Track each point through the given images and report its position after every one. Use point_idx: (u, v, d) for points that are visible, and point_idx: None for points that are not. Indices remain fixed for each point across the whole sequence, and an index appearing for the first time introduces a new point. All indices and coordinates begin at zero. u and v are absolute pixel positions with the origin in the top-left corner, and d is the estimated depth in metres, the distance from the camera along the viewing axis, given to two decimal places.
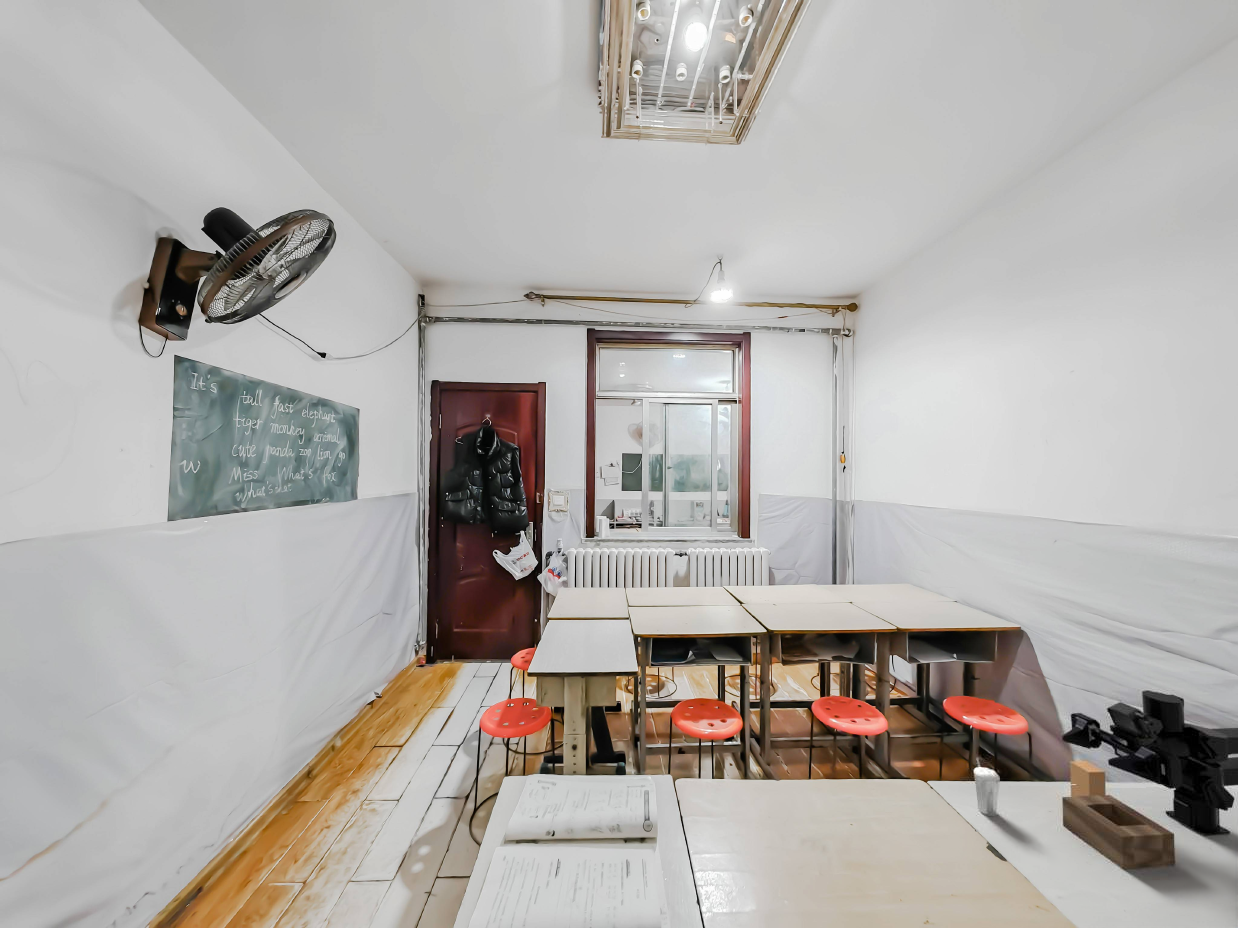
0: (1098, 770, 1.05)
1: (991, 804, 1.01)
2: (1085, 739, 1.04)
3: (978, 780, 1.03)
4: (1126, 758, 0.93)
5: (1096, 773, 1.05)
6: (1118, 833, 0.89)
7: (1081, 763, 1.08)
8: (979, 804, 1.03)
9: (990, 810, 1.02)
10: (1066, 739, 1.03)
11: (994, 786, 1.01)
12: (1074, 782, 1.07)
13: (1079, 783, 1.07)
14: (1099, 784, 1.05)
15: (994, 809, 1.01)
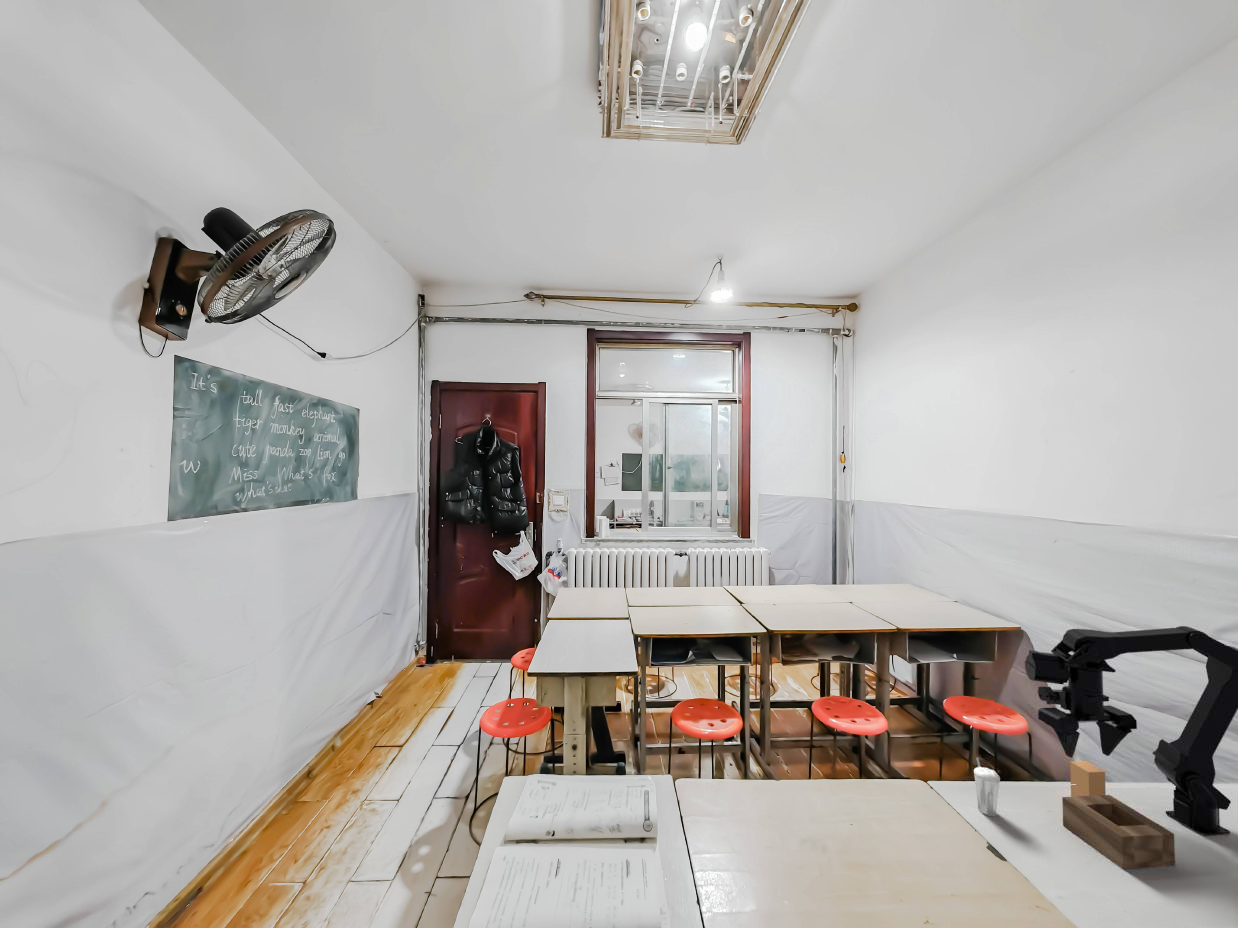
0: (1098, 770, 1.05)
1: (991, 804, 1.01)
2: (1110, 731, 1.06)
3: (978, 780, 1.03)
4: None
5: (1096, 773, 1.05)
6: (1118, 833, 0.89)
7: (1081, 763, 1.08)
8: (979, 804, 1.03)
9: (990, 810, 1.02)
10: (1105, 752, 1.07)
11: (995, 786, 1.01)
12: (1074, 782, 1.07)
13: (1079, 783, 1.07)
14: (1099, 784, 1.05)
15: (994, 809, 1.01)
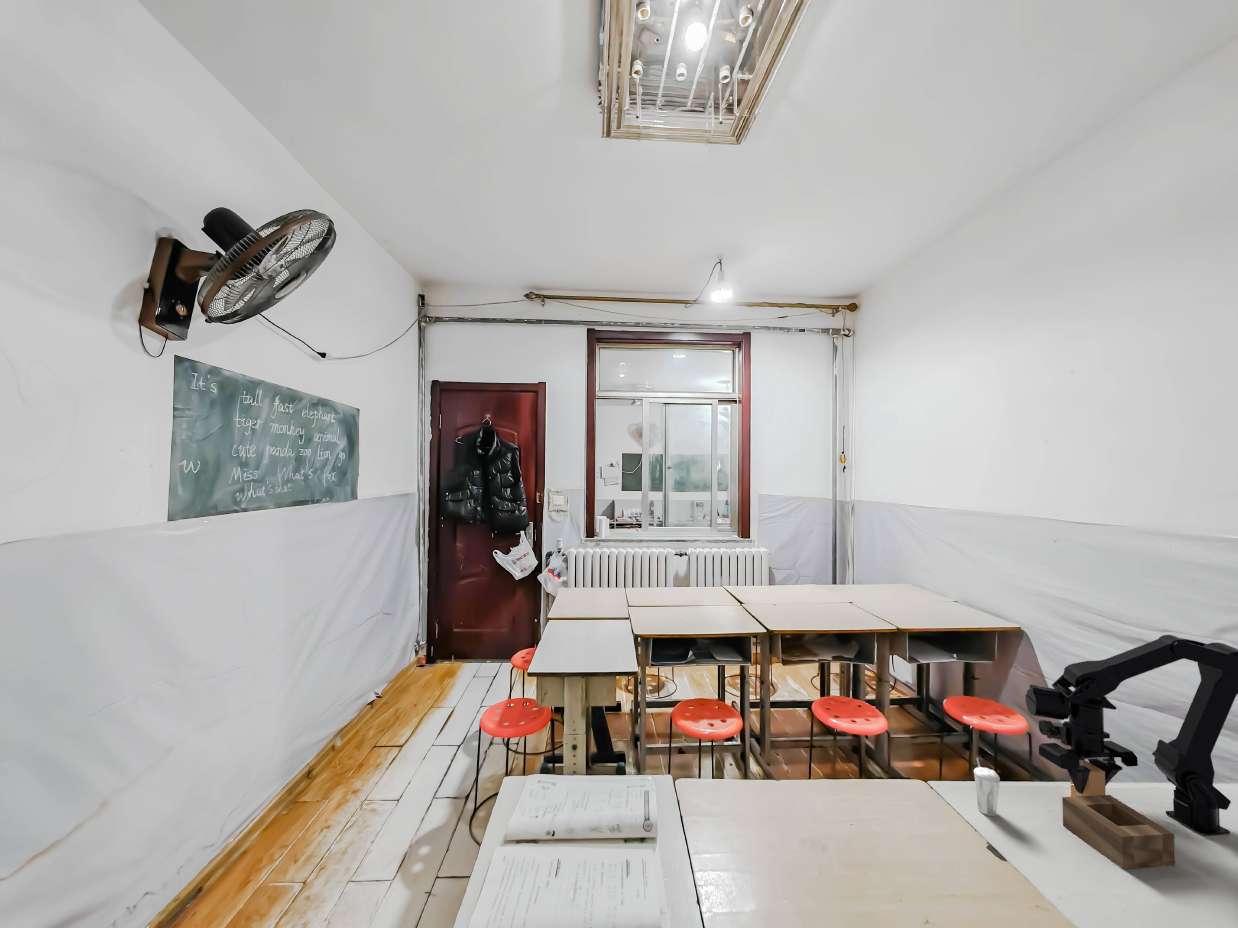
0: (1098, 770, 1.05)
1: (991, 804, 1.01)
2: (1101, 768, 1.06)
3: (978, 780, 1.03)
4: None
5: (1096, 773, 1.05)
6: (1118, 833, 0.89)
7: None
8: (979, 804, 1.03)
9: (989, 810, 1.02)
10: None
11: (994, 786, 1.01)
12: None
13: None
14: (1099, 784, 1.05)
15: (994, 809, 1.01)
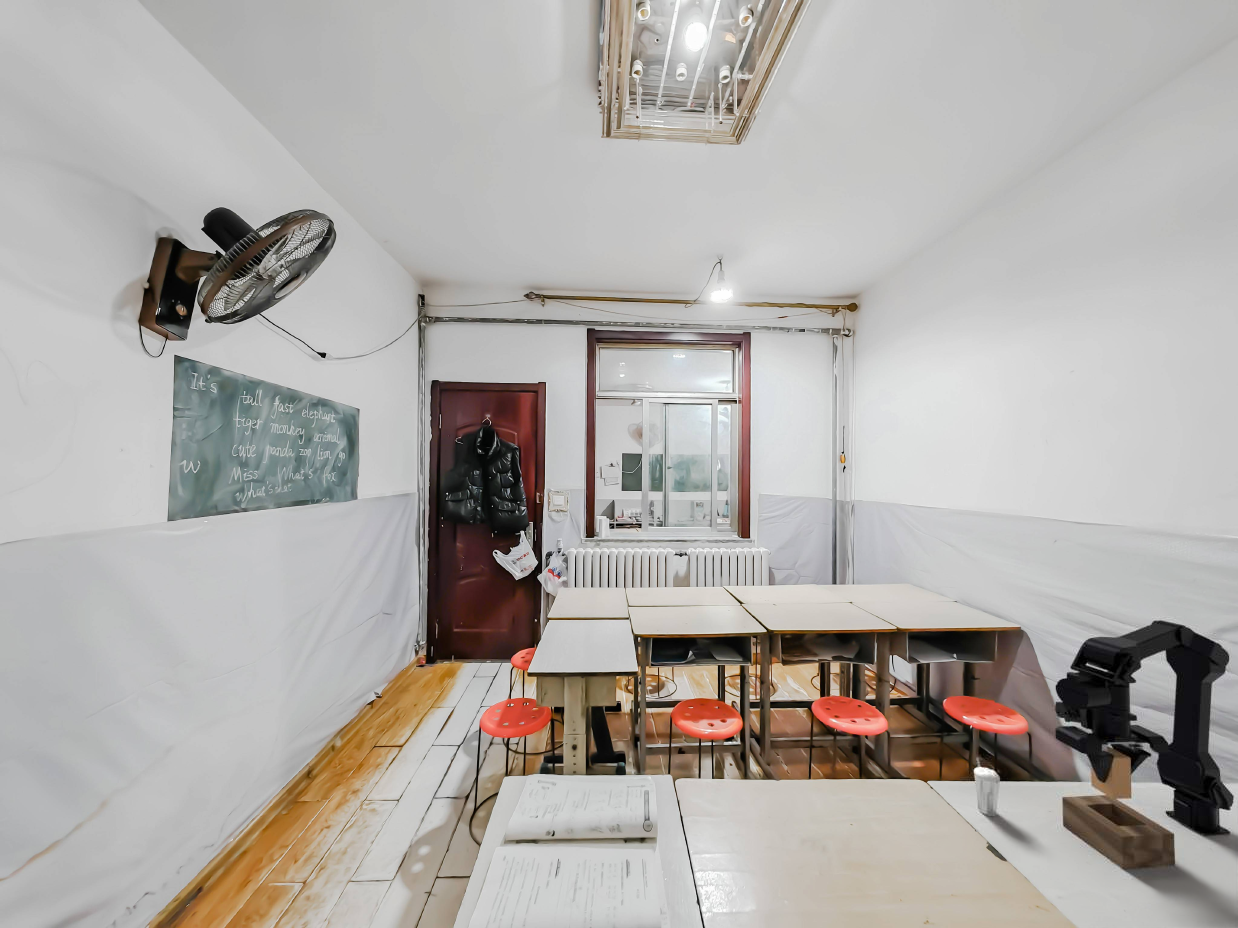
0: (1122, 756, 0.94)
1: (991, 804, 1.01)
2: (1126, 754, 0.94)
3: (978, 780, 1.03)
4: None
5: (1120, 759, 0.93)
6: (1118, 833, 0.89)
7: None
8: (979, 804, 1.03)
9: (990, 810, 1.02)
10: None
11: (995, 786, 1.01)
12: None
13: None
14: (1124, 772, 0.93)
15: (994, 809, 1.01)
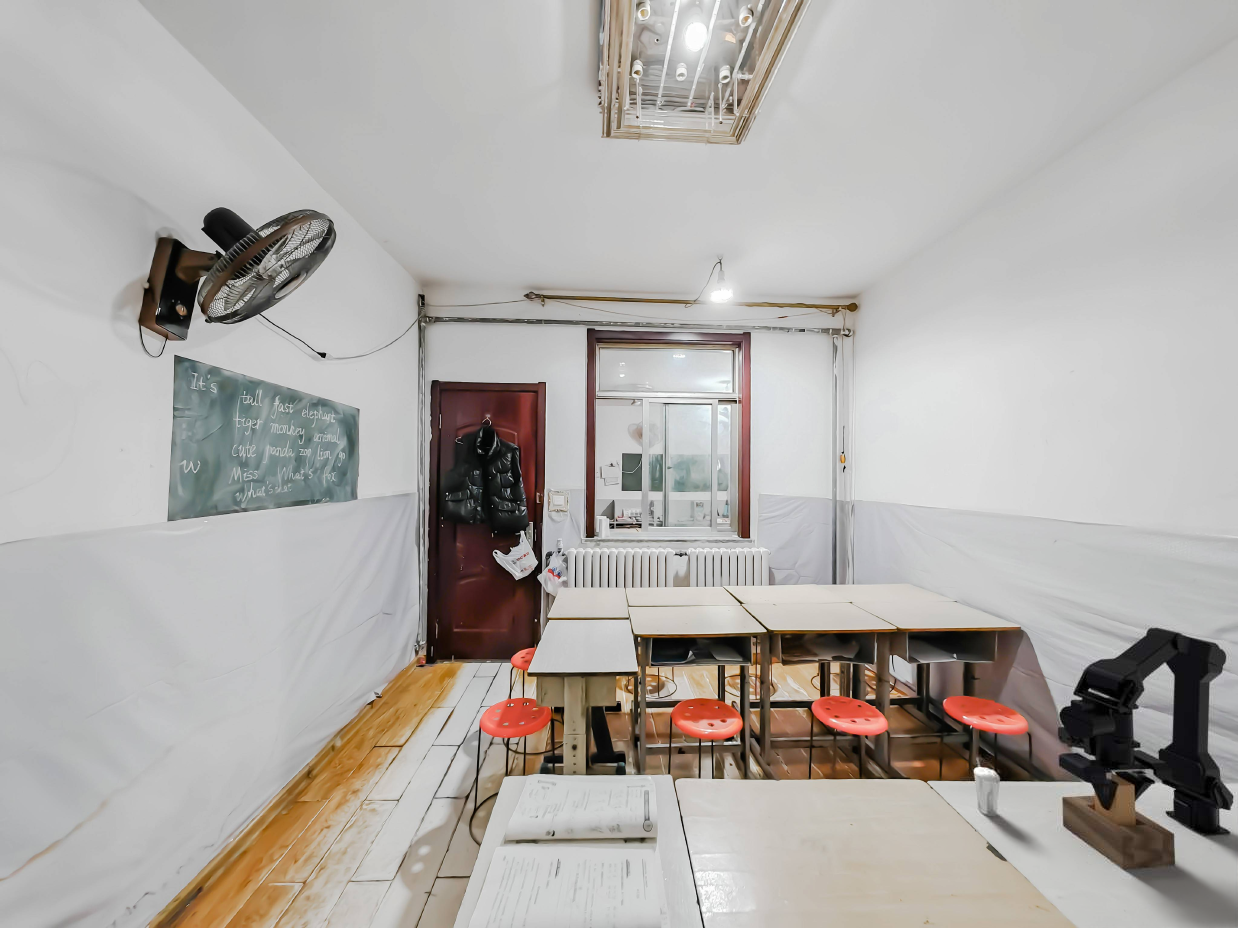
0: (1126, 783, 0.93)
1: (991, 804, 1.01)
2: (1130, 781, 0.94)
3: (978, 780, 1.03)
4: None
5: (1124, 787, 0.92)
6: (1118, 833, 0.89)
7: None
8: (979, 804, 1.03)
9: (990, 810, 1.02)
10: None
11: (994, 786, 1.01)
12: None
13: None
14: (1128, 799, 0.92)
15: (994, 809, 1.01)
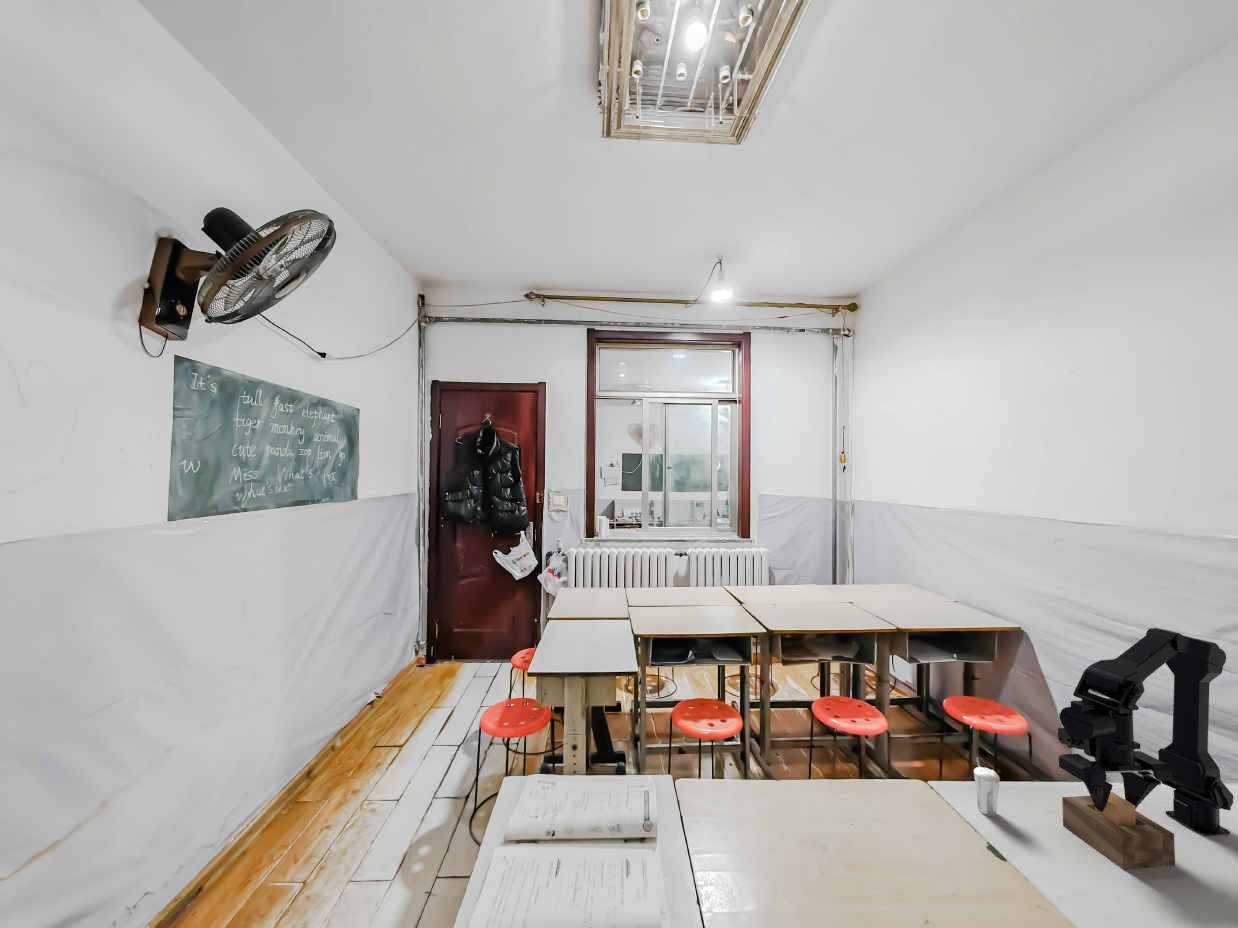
0: (1127, 804, 0.93)
1: (991, 804, 1.01)
2: (1136, 782, 0.94)
3: (978, 780, 1.03)
4: None
5: (1125, 807, 0.92)
6: (1118, 833, 0.89)
7: None
8: (979, 804, 1.03)
9: (989, 810, 1.02)
10: None
11: (994, 786, 1.01)
12: None
13: None
14: (1128, 820, 0.92)
15: (994, 809, 1.01)
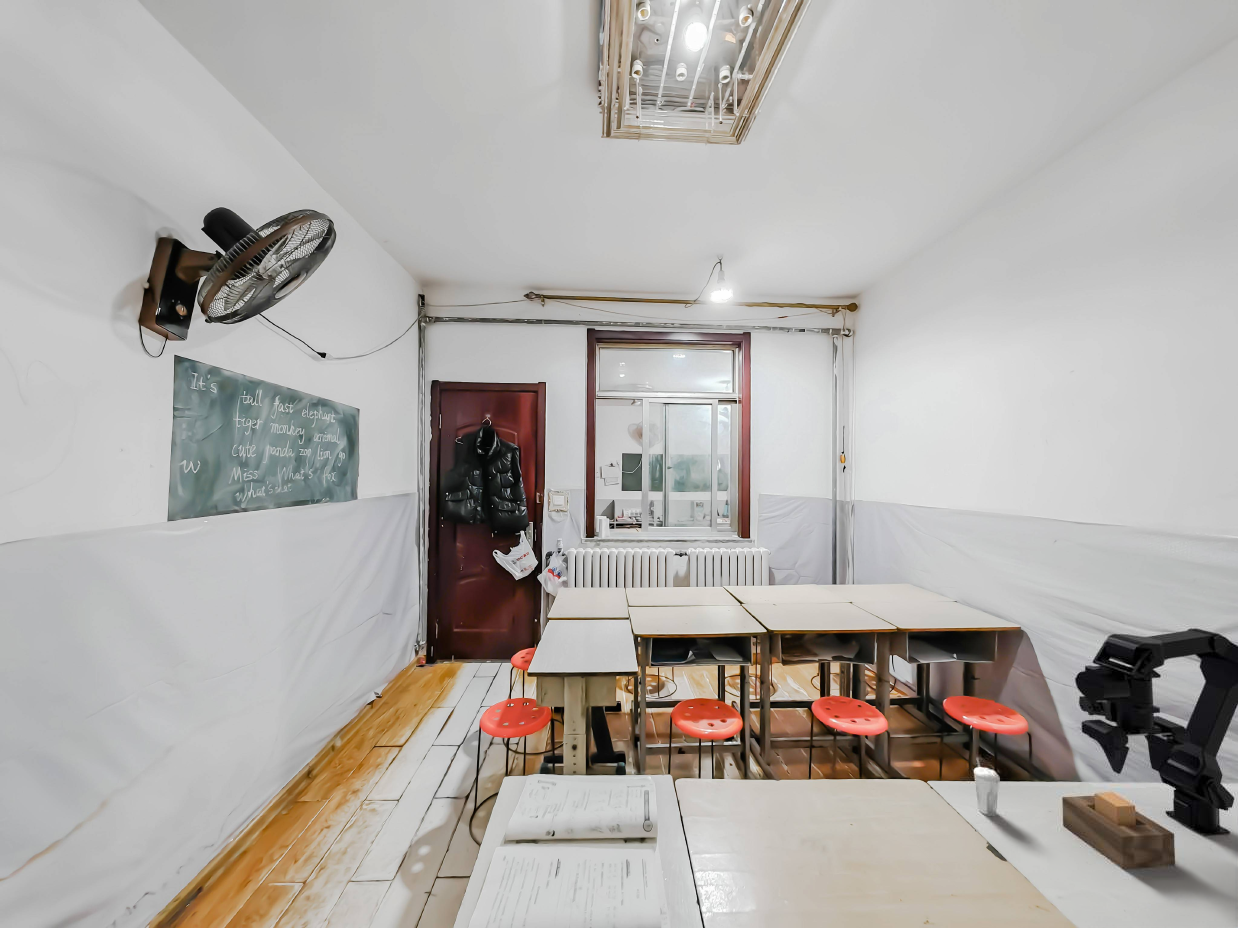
0: (1127, 804, 0.93)
1: (991, 804, 1.01)
2: (1160, 744, 0.99)
3: (978, 780, 1.03)
4: None
5: (1125, 807, 0.92)
6: (1118, 833, 0.89)
7: (1108, 794, 0.95)
8: (979, 804, 1.03)
9: (989, 810, 1.02)
10: (1155, 767, 0.99)
11: (994, 786, 1.01)
12: None
13: None
14: (1128, 820, 0.92)
15: (994, 809, 1.01)
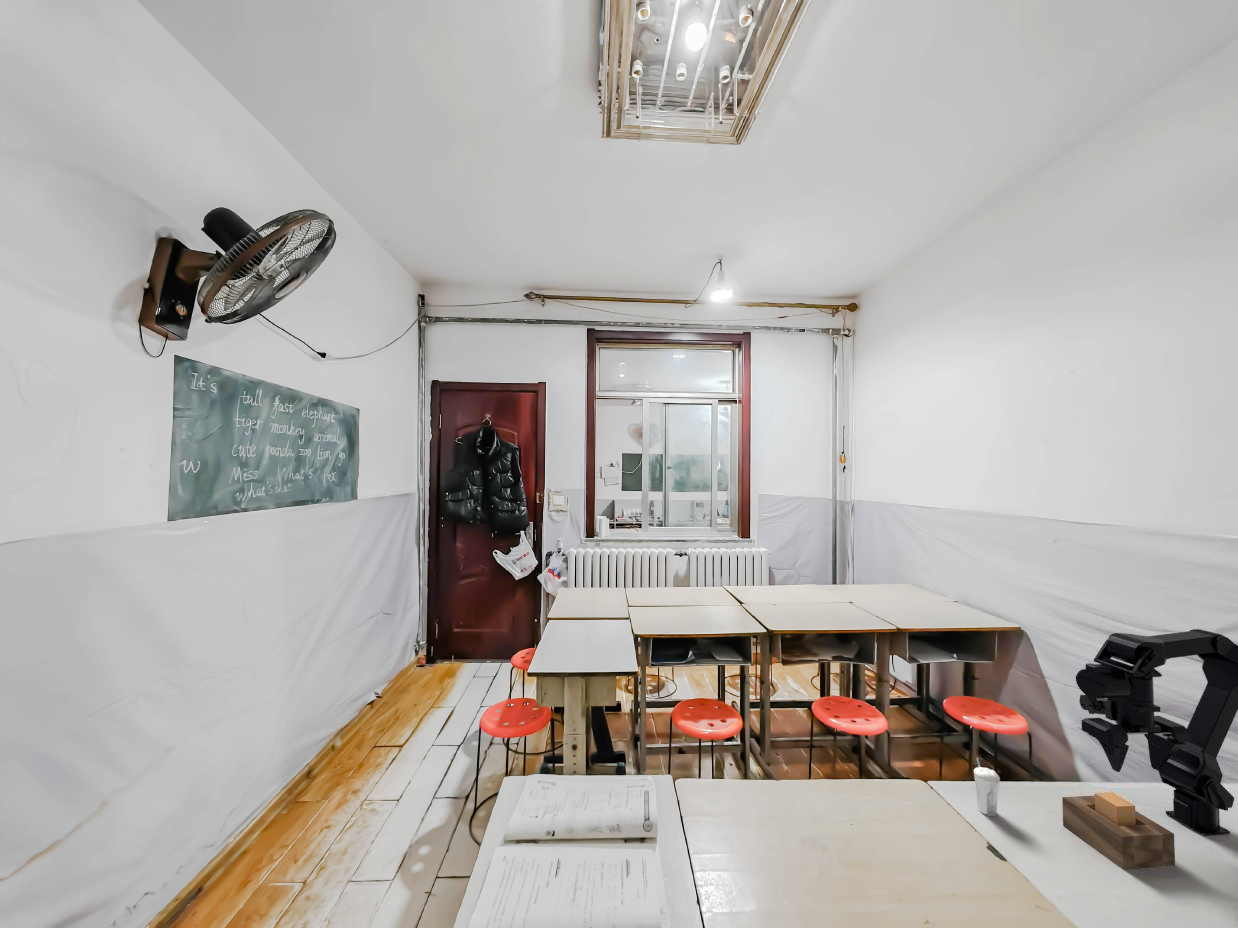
0: (1127, 804, 0.93)
1: (991, 804, 1.01)
2: (1160, 743, 0.99)
3: (978, 780, 1.03)
4: None
5: (1125, 807, 0.92)
6: (1118, 833, 0.89)
7: (1108, 794, 0.95)
8: (979, 804, 1.03)
9: (989, 810, 1.02)
10: (1155, 766, 0.99)
11: (994, 786, 1.01)
12: None
13: None
14: (1128, 820, 0.92)
15: (994, 809, 1.01)
